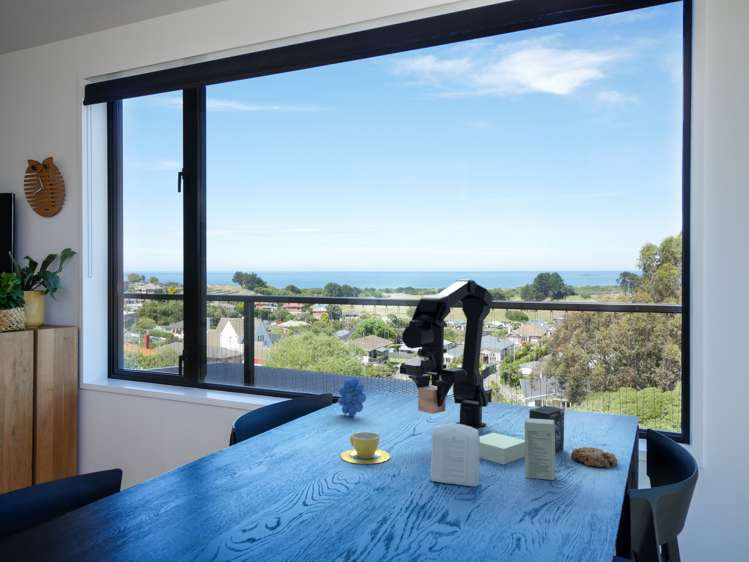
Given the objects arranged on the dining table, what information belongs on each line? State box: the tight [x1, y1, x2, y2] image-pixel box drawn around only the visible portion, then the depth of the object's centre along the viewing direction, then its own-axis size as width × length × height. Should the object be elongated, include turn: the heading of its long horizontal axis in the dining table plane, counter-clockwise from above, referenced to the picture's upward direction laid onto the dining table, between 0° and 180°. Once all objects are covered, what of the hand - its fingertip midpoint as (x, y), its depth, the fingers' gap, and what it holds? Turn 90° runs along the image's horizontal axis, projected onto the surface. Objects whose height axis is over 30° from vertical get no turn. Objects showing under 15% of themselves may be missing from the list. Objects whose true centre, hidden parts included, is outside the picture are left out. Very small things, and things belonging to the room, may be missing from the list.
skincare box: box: [524, 417, 556, 481], centre depth 132 cm, size 6×4×12 cm
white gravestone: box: [430, 422, 480, 488], centre depth 127 cm, size 10×4×12 cm, turn 72°
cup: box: [340, 431, 391, 465], centre depth 144 cm, size 12×12×5 cm
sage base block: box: [479, 432, 525, 465], centre depth 147 cm, size 10×10×4 cm
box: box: [529, 405, 566, 454], centre depth 151 cm, size 8×6×11 cm
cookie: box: [570, 446, 618, 469], centre depth 143 cm, size 10×11×3 cm
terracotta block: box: [417, 384, 446, 415], centre depth 157 cm, size 5×5×6 cm
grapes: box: [337, 377, 367, 417], centre depth 185 cm, size 12×7×12 cm, turn 45°
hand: (431, 404), depth 157 cm, fingers closed on terracotta block, 5 cm apart
